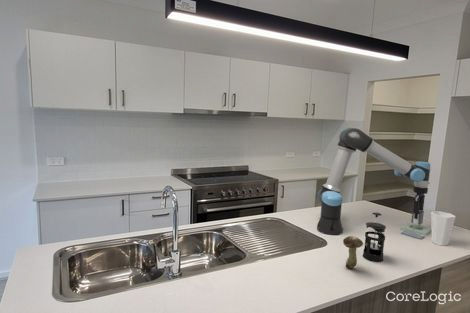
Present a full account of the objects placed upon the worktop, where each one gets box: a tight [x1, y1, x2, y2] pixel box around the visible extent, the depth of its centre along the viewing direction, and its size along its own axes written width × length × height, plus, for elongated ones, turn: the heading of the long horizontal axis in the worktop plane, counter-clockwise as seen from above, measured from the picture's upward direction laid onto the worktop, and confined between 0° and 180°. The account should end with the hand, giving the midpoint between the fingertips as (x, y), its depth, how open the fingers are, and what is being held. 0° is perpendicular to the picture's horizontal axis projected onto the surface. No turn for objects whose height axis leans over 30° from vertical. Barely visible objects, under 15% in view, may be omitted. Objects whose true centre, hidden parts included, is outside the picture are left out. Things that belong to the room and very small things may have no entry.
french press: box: [362, 212, 387, 263], centre depth 143 cm, size 12×9×23 cm
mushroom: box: [342, 235, 364, 270], centre depth 132 cm, size 9×9×15 cm
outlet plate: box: [400, 221, 432, 237], centre depth 184 cm, size 14×14×2 cm
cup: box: [430, 210, 456, 247], centre depth 163 cm, size 11×10×17 cm
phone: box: [400, 230, 426, 241], centre depth 175 cm, size 11×6×1 cm, turn 38°
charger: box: [410, 210, 425, 225], centre depth 183 cm, size 5×5×8 cm
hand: (417, 222), depth 184 cm, fingers closed on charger, 5 cm apart
